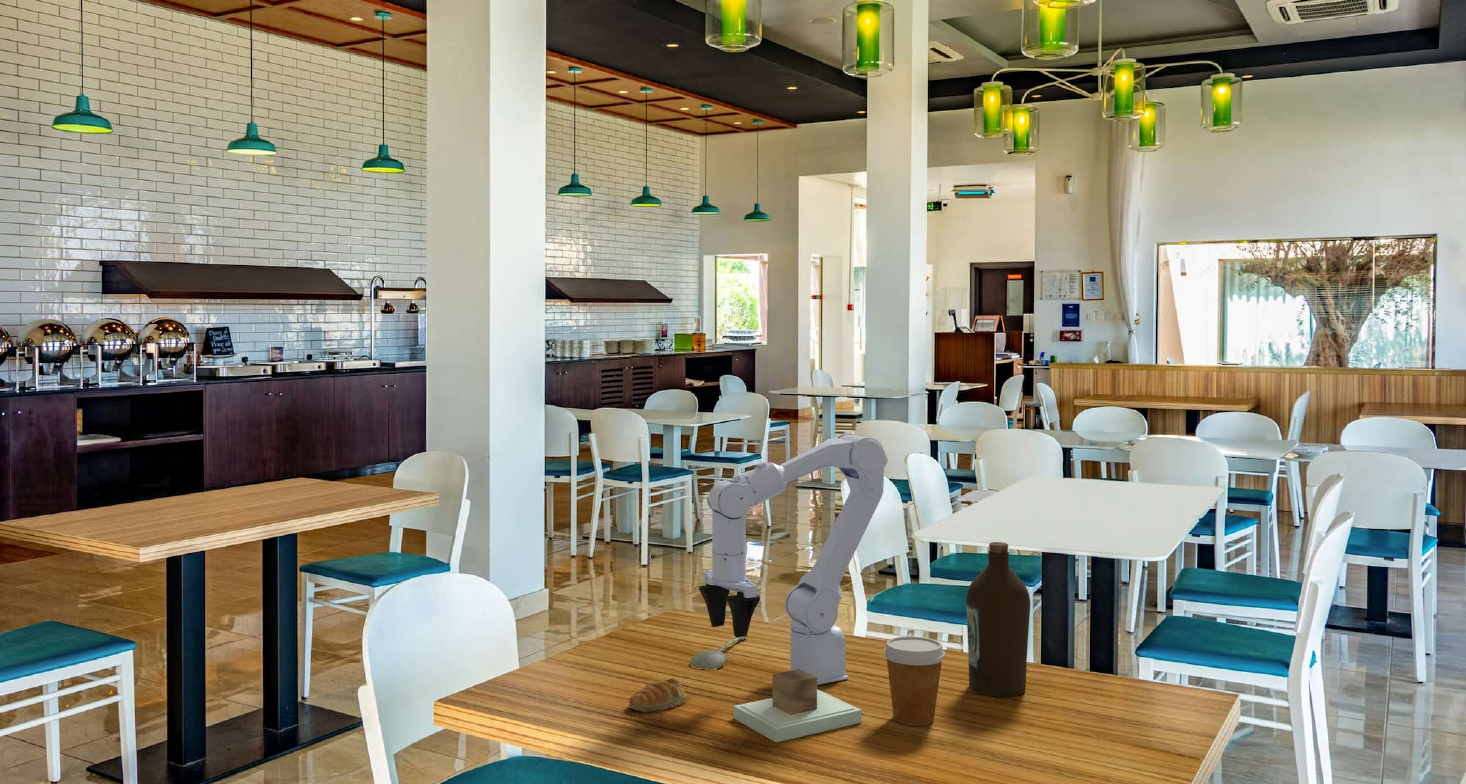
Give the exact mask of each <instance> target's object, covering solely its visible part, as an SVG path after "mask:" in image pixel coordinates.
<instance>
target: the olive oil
mask: <svg viewBox="0 0 1466 784" xmlns="http://www.w3.org/2000/svg"><path fill="white" fill-rule="evenodd" d="M988 549H989V550H988V554H987V555H988V558H987V559H988V564H987V565H986V567H985V568H984V569H983V570H982V571H981V572H980V573H979V574H978V575H977V576H976V577H975V578H974V579H973V580H972V581H971V583H970V585H969V586H968V589H967V593H966V597H965V598H966V600H965V603H966V605H965V606H966V607H965V608H966V626H967V627H966V628H967V629H966V630H967V655H968V685H969V686H968V687H969V688H970V689H971V690H972V691H973V692H975V693H977V694H980V695H984V696H989V697H997V698H998V697H999V698H1008V697H1009V698H1010V697H1018V696H1021V695H1023V694H1024V693H1025V692H1026V689H1027V684H1026V683H1027V668H1028V667H1027V665H1028V663H1027V661H1028V646H1029V645H1028V643H1029V632H1030V631H1029V629H1030V616H1031V615H1030V613H1031V597H1030V593H1029V590H1028V588H1027V586H1026V585H1025V583H1024V582H1023V581H1022V579H1021V578H1020V577H1019V576H1018V575H1017V574H1016V573H1015V572H1014V571H1013V570H1012V569H1011V567H1010V565H1009V561H1010V560H1009V558H1010V552H1009V543H1007V542H1003V541H1001V542H1000V541H992V542H990V543H989V544H988Z"/></svg>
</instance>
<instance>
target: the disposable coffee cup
mask: <svg viewBox="0 0 1466 784" xmlns="http://www.w3.org/2000/svg"><path fill="white" fill-rule="evenodd" d="M883 653H884V654H883V655H884V656H885V658H886V664H887V672H888V682H889V683H888V684H889V689H890V691H889V692H890V698H891V699H890V700H891V706H892V716H893V720H895V722H896V723H900V724H902V725H905V726H916V727H919V726H920V727H921V726H927V725H930V724H933V722H934V721H935V715H936V714H935V713H936V706H937V700H938V693H939V692H938V691H939V684H940V677H941V670H942V661H943V660H944V657H945V656H946V652H945V650H944V649H943V644H942V643H941V642H940V641H939V640H937V639H934V638H933V639H932V638H929V637H925V636H913V635H910V636H906V635H905V636H898V637H893V638H890V639H887V641H886V644H885V647H884V649H883Z"/></svg>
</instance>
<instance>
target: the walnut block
mask: <svg viewBox="0 0 1466 784" xmlns="http://www.w3.org/2000/svg"><path fill="white" fill-rule="evenodd" d="M771 680H772V682H771V683H772V687H771V688H772V693H771V694H772V697H771V698H772V706H774V707H776V708H778V709H780V710H782V711H784V712H786V713H788V714H790V715H792V714H797V713H802V712H806V711H811V710H815V709H817V689H818V685H817V677H815V676H813V675H811V674H808V673H806V672H804V671H802V670H800V669H796V670H791V671H790V670H787V671H781V672H776V673H772V679H771Z"/></svg>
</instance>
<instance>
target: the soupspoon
mask: <svg viewBox="0 0 1466 784" xmlns="http://www.w3.org/2000/svg"><path fill="white" fill-rule="evenodd" d="M746 637H748V635H747V636H744V637H738V638H737V637H735V638H733V639H731V640H729V641H728V642H726V643H725V644H723V645H721V646H720V647H719V648H718V649H708V650H702V651H699V652H698V653H696V654H694V655H693V656H692V658H691V659H690V662H689V664H690V666H691V665H692V666H694V667H696V668H703V669H706V668H707V669H714V668H719V669H721V668H722V667H723V665H724V664H725V663H726V661H727V654H726V653H724V652H723V651H724V650H725V649H726V648H728V647H729V646H731V645H732V644H734V643H735V642H741V641H740V640H743V639H745V638H746ZM748 638H749V637H748ZM737 640H739V641H737Z"/></svg>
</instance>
